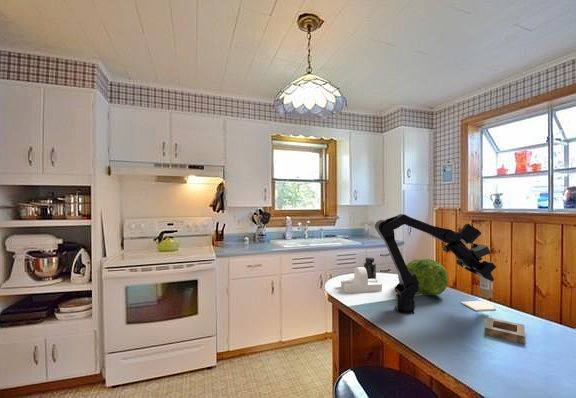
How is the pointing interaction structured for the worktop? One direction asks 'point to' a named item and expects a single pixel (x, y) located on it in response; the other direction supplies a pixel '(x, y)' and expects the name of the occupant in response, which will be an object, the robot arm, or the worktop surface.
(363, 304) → the worktop surface
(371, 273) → the supplement bottle
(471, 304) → the pad
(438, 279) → the lettuce
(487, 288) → the sprinkles bottle
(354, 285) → the bracket
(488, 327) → the socket block
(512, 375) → the worktop surface
